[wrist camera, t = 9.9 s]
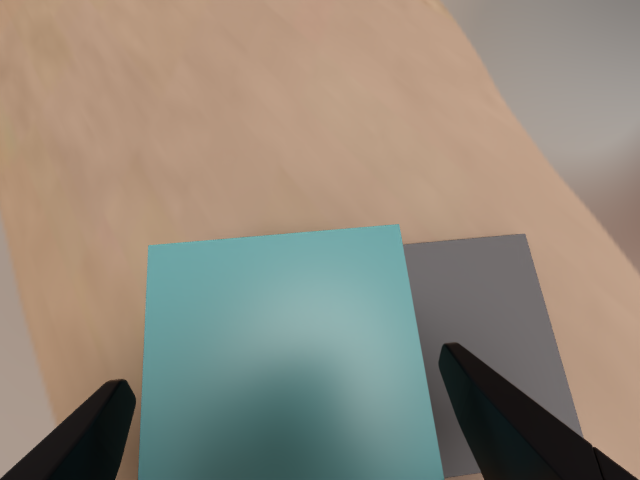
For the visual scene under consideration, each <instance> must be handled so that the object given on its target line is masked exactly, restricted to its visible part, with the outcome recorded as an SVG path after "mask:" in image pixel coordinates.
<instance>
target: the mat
mask: <svg viewBox="0 0 640 480" xmlns="http://www.w3.org/2000/svg"><path fill="white" fill-rule="evenodd" d="M403 249H404V255H405V261H406V266H407V272H408V277H409V283H410V289H411V294H412V300H413V306H414V311H415V317H416V323H417V328H418V334H419V340H420V345H421V351H422V356H423V362H424V368H425V373H426V379H427V385H428V390H429V396H430V402H431V407H432V413H433V419H434V424H435V430H436V435H437V441H438V447H439V452H440V458H441V464H442V469H443V475H444V478H448V477H455V476H461V475H468V474H475V473H481V471H480V469H479V467H478V465H477V463H476V460H475V458H474V456H473V454H472V452H471V450H470V447H469V445H468V443H467V441H466V439H465V437H464V435H463V432H462V430H461V428H460V426H459V423H458V421H457V418H456V416H455V413H454V410H453V407H452V404H451V401H450V399H449V396H448V393H447V390H446V387H445V384H444V382H443V379H442V376H441V373H440V370H439V366H438V361H439V356H440V352H441V348H442V345H443V344H444V343H450V342H457V343H459V344H461V345H462V346H463V347H465V348H466V349H467V350H469V351H470V352H471V353H473V354H474V355H475V356H476V357H478V358H479V359H480V360H482V361H483V362H484V363H486V364H487V365H488V366H490V367H491V368H492V369H494V370H495V371H496V372H497V373H499V374H500V375H501V376H503V377H504V378H505V379H507V380H508V381H509V382H511V383H512V384H513V385H514V386H516V387H517V388H518V389H520V390H521V391H522V392H524V393H525V394H526V395H528V396H529V397H530V398H531V399H533V400H534V401H535V402H537V403H538V404H539V405H541V406H542V407H543V408H545V409H546V410H547V411H549V412H550V413H551V414H552V415H554V416H555V417H556V418H558V419H559V420H560V421H562V422H563V423H564V424H566V425H567V426H568V427H569V428H571V429H572V430H573V431H575V432H576V433H577V434H579V435H580V436H581V437H583V434H582V431H581V427H580V424H579V420H578V417H577V413H576V410H575V406H574V403H573V399H572V396H571V392H570V389H569V385H568V382H567V378H566V375H565V371H564V368H563V364H562V361H561V357H560V354H559V351H558V347H557V344H556V340H555V337H554V333H553V330H552V326H551V323H550V319H549V316H548V312H547V309H546V305H545V302H544V298H543V295H542V291H541V288H540V284H539V281H538V277H537V274H536V270H535V267H534V263H533V260H532V256H531V253H530V249H529V246H528V242H527V239H526V235H525V234H517V235H506V236H494V237H483V238H472V239H461V240H450V241H438V242H427V243H416V244H405V245H403Z"/></svg>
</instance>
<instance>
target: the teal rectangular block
mask: <svg viewBox="0 0 640 480" xmlns="http://www.w3.org/2000/svg"><path fill="white" fill-rule="evenodd" d="M138 480H444V475H443V469H442V464H441V458H440V452H439V447H438V441H437V435H436V430H435V424H434V419H433V413H432V407H431V402H430V396H429V390H428V385H427V379H426V373H425V368H424V362H423V356H422V351H421V345H420V340H419V334H418V328H417V323H416V317H415V311H414V306H413V300H412V294H411V289H410V283H409V277H408V272H407V266H406V261H405V255H404V249H403V244H402V238H401V232H400V227H399V224H396V225H384V226H372V227H360V228H348V229H337V230H325V231H313V232H301V233H289V234H277V235H266V236H254V237H242V238H230V239H218V240H206V241H195V242H183V243H171V244H159V245H148V267H147V289H146V311H145V334H144V356H143V379H142V401H141V424H140V446H139V469H138Z"/></svg>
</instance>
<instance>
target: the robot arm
mask: <svg viewBox="0 0 640 480" xmlns="http://www.w3.org/2000/svg"><path fill="white" fill-rule="evenodd" d="M438 366H439V370H440V373H441V376H442V379H443V382H444V384H445V387H446V390H447V393H448V396H449V399H450V401H451V404H452V407H453V410H454V413H455V416H456V418H457V421H458V423H459V426H460V428H461V430H462V432H463V435H464V437H465V439H466V441H467V443H468V445H469V447H470V450H471V452H472V454H473V456H474V458H475V460H476V463H477V465H478V467H479V469H480V471H481V473H482V475H483V478H484V480H638V479H637V478H636V477H634V476H633V475H632V474H630V473H629V472H628V471H626V470H625V469H624V468H622V467H621V466H620V465H618V464H617V463H616V462H614V461H613V460H612V459H610V458H609V457H608V456H606V455H605V454H604V453H602V452H601V451H600V450H598V449H597V448H596V447H593V446H592V445H591V444H590V443H589V442H588V441H586V440H585V439H584V438H583V437H581V436H580V435H579V434H577V433H576V432H575V431H573V430H572V429H571V428H569V427H568V426H567V425H566V424H564V423H563V422H562V421H560V420H559V419H558V418H556V417H555V416H554V415H552V414H551V413H550V412H549V411H547V410H546V409H545V408H543V407H542V406H541V405H539V404H538V403H537V402H535V401H534V400H533V399H531V398H530V397H529V396H528V395H526V394H525V393H524V392H522V391H521V390H520V389H518V388H517V387H516V386H514V385H513V384H512V383H511V382H509V381H508V380H507V379H505V378H504V377H503V376H501V375H500V374H499V373H497V372H496V371H495V370H494V369H492V368H491V367H490V366H488V365H487V364H486V363H484V362H483V361H482V360H480V359H479V358H478V357H476V356H475V355H474V354H473V353H471V352H470V351H469V350H467V349H466V348H465V347H463V346H462V345H461V344H459V343H457V342H450V343H444V344H443V345H442V348H441V352H440V356H439V361H438ZM135 405H136V398H135V395H134V393H133V391H132V390H131V388H130V386H129V384H128V382H127V381H126V380H124V379H118V380H110V381H108V382H106V383H105V384H103V385H102V386H101V387H100V388H99V389H98V390H97V391H96V392H95V393H94V394H93V395H91V396H90V397H89V398H88V399H87V400H86V401H85V402H84V403H83V404H82V405H80V406H79V407H78V408H77V409H76V410H75V411H74V412H73V413H72V414H71V415H70V416H68V417H67V418H66V419H65V420H64V421H63V422H62V423H61V424H60V425H59V426H57V427H56V428H55V429H54V430H53V431H52V432H51V433H50V434H49V435H48V436H47V437H45V438H44V439H43V440H42V441H41V442H40V443H39V444H38V445H37V446H36V447H35V448H33V450H31V451H30V452H29V453H28V454H27V455H26V456H25V457H24V458H22V459H21V460H20V461H19V462H18V463H17V464H16V465H15V466H14V467H13V468H12V469H10V470H9V471H8V472H7V473H6V474H5V475H4V476H3V477H2V478H1V479H0V480H115V478H116V476H117V473H118V470H119V467H120V463H121V460H122V456H123V452H124V448H125V444H126V440H127V437H128V433H129V429H130V425H131V421H132V417H133V413H134V409H135Z"/></svg>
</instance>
